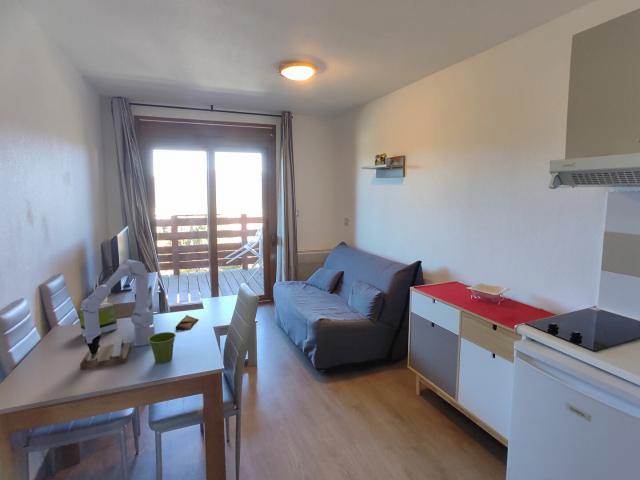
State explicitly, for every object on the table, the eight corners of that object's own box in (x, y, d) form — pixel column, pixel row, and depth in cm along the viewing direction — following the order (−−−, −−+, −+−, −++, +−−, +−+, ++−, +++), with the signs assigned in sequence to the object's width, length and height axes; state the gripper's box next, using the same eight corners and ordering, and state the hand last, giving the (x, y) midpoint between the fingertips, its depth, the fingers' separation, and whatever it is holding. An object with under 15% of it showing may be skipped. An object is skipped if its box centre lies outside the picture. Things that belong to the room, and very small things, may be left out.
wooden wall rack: (131, 347, 182) (131, 338, 182) (126, 362, 165) (125, 353, 165) (90, 352, 176) (89, 343, 175) (80, 369, 159) (79, 359, 159)
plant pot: (150, 357, 171) (148, 334, 170) (176, 352, 176) (175, 330, 174) (149, 368, 160) (147, 344, 159) (177, 363, 165) (176, 339, 164)
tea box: (109, 325, 212) (107, 301, 210) (117, 329, 206) (115, 304, 204) (80, 333, 200) (78, 308, 198) (88, 338, 194) (86, 311, 192)
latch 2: (123, 336, 175) (122, 334, 175) (119, 356, 165) (119, 355, 165) (116, 336, 174) (115, 335, 174) (112, 357, 164) (112, 356, 164)
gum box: (145, 322, 218) (142, 285, 214) (154, 321, 219) (151, 284, 216) (136, 334, 199) (133, 294, 196) (146, 333, 200) (143, 293, 197)
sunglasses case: (190, 330, 204) (184, 320, 203) (180, 336, 204) (173, 327, 203) (199, 319, 222) (193, 310, 221) (189, 325, 222) (183, 316, 221)
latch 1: (100, 348, 174) (100, 346, 173) (94, 360, 162) (94, 358, 162) (93, 349, 173) (93, 347, 172) (87, 361, 161) (86, 359, 161)
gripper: (86, 320, 172) (88, 347, 173) (77, 330, 158) (80, 360, 160) (102, 318, 174) (105, 345, 176) (95, 328, 161) (98, 357, 162)
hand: (94, 352), depth 168 cm, fingers closed, pressing on latch 1
